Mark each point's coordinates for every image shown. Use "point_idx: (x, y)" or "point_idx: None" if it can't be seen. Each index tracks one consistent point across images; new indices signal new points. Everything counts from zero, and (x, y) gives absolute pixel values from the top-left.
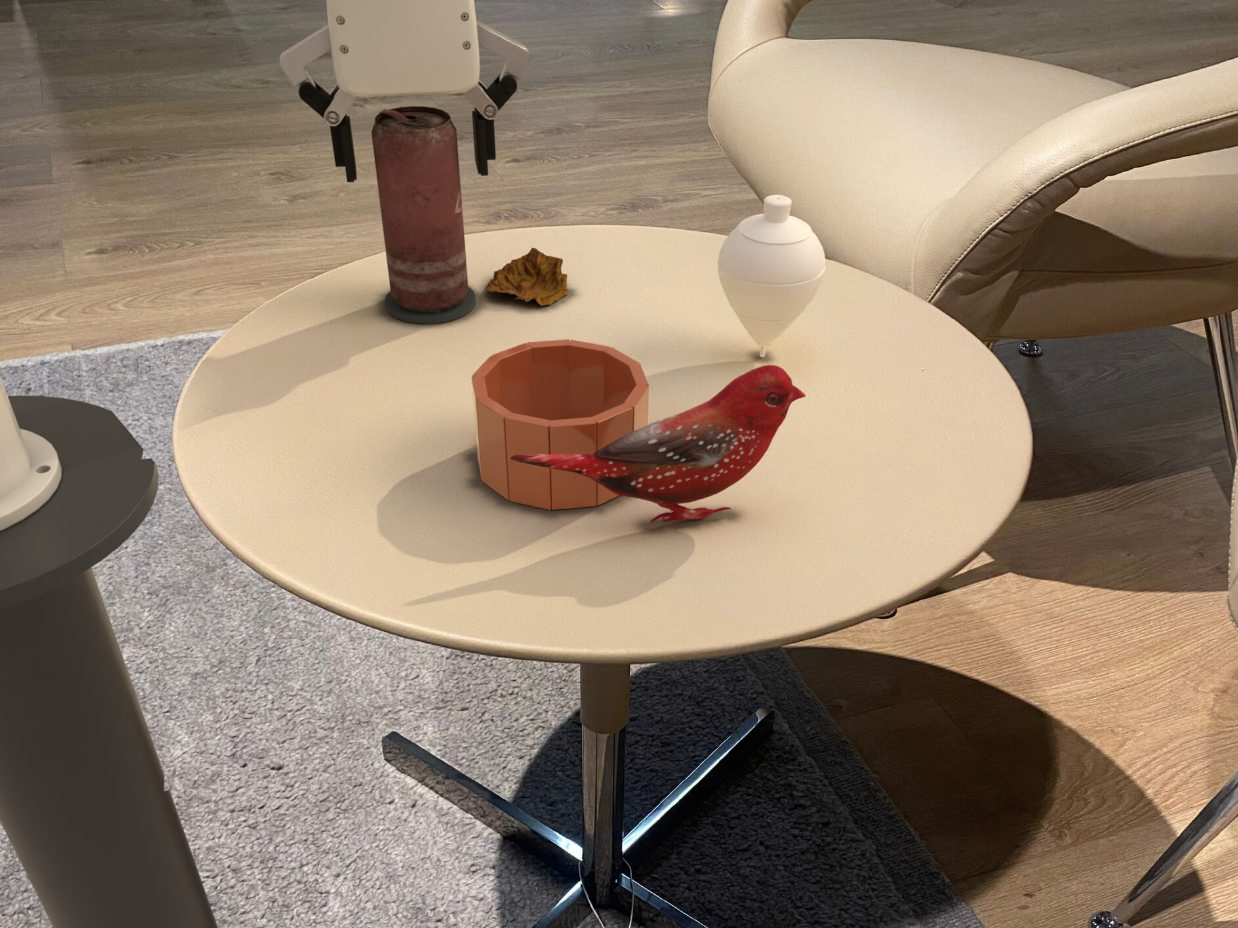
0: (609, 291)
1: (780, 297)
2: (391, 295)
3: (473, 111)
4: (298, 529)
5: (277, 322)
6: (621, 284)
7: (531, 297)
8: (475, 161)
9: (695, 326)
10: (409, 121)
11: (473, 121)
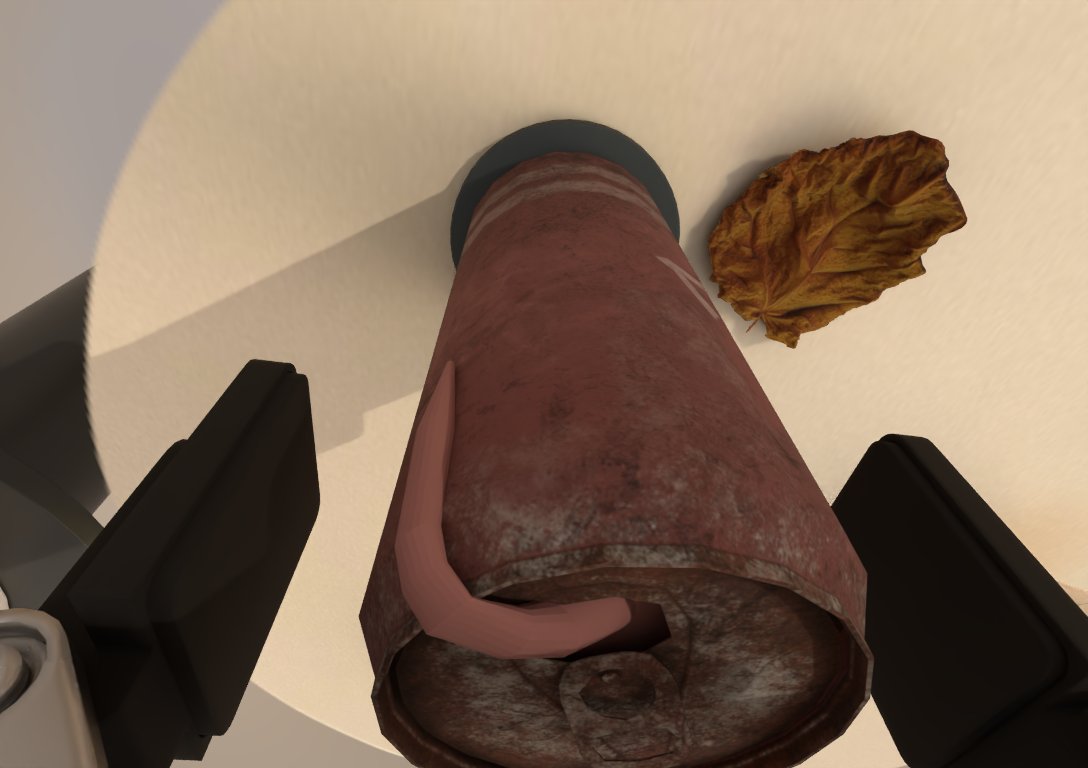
0: (978, 297)
1: None
2: (470, 203)
3: (1046, 680)
4: (319, 684)
5: (183, 228)
6: (1032, 270)
7: (782, 338)
8: (870, 456)
9: (997, 465)
10: (598, 677)
11: (971, 667)
